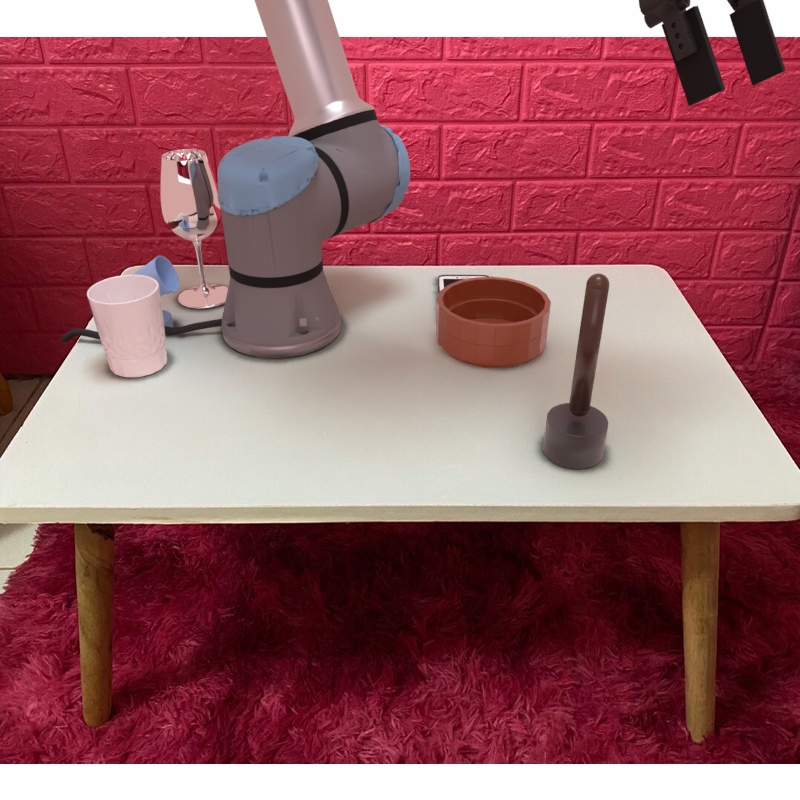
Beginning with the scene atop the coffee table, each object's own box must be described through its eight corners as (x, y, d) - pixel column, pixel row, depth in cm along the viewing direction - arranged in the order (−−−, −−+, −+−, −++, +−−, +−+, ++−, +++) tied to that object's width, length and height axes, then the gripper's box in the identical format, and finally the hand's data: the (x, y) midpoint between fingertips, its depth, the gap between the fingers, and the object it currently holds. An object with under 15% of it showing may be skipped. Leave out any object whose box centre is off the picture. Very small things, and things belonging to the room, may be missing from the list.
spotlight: (190, 320, 103) (139, 319, 104) (178, 249, 98) (125, 248, 98) (179, 337, 99) (127, 336, 99) (166, 265, 94) (111, 264, 94)
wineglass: (192, 315, 105) (168, 167, 94) (168, 295, 110) (142, 153, 99) (243, 299, 109) (226, 155, 98) (217, 281, 114) (198, 143, 103)
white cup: (154, 384, 90) (138, 306, 84) (92, 377, 91) (72, 300, 86) (183, 351, 96) (170, 277, 91) (125, 345, 97) (109, 272, 92)
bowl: (426, 363, 94) (427, 319, 90) (446, 313, 105) (447, 272, 102) (541, 376, 91) (546, 331, 88) (548, 323, 102) (553, 282, 99)
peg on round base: (541, 464, 77) (563, 285, 66) (544, 430, 82) (566, 258, 71) (602, 473, 76) (635, 291, 65) (602, 438, 81) (633, 264, 70)
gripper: (620, -232, 50) (724, 84, 53) (759, -189, 66) (832, 52, 70) (532, -153, 56) (630, 129, 59) (679, -132, 72) (750, 89, 75)
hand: (740, 88), depth 64 cm, fingers open, 13 cm apart
